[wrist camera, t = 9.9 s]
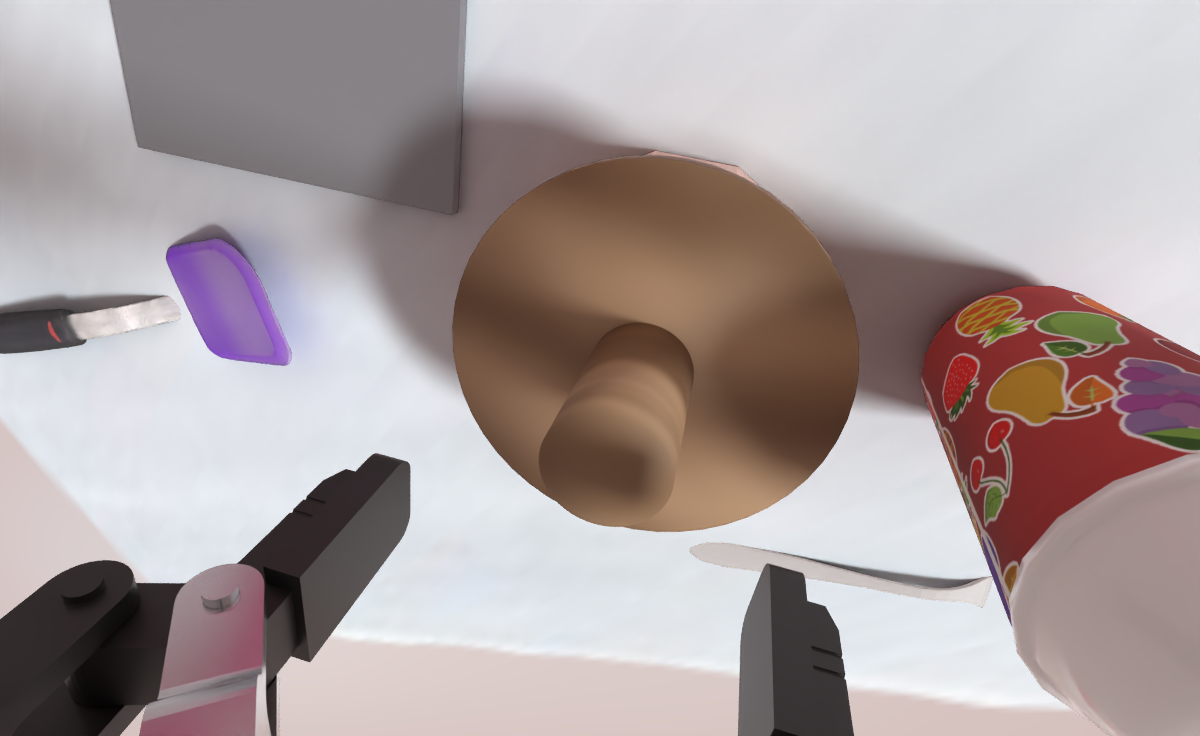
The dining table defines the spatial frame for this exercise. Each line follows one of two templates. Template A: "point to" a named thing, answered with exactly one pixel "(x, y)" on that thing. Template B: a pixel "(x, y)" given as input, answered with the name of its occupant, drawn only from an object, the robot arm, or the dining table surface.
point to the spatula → (172, 311)
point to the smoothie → (1081, 496)
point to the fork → (834, 573)
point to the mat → (304, 90)
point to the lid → (656, 344)
